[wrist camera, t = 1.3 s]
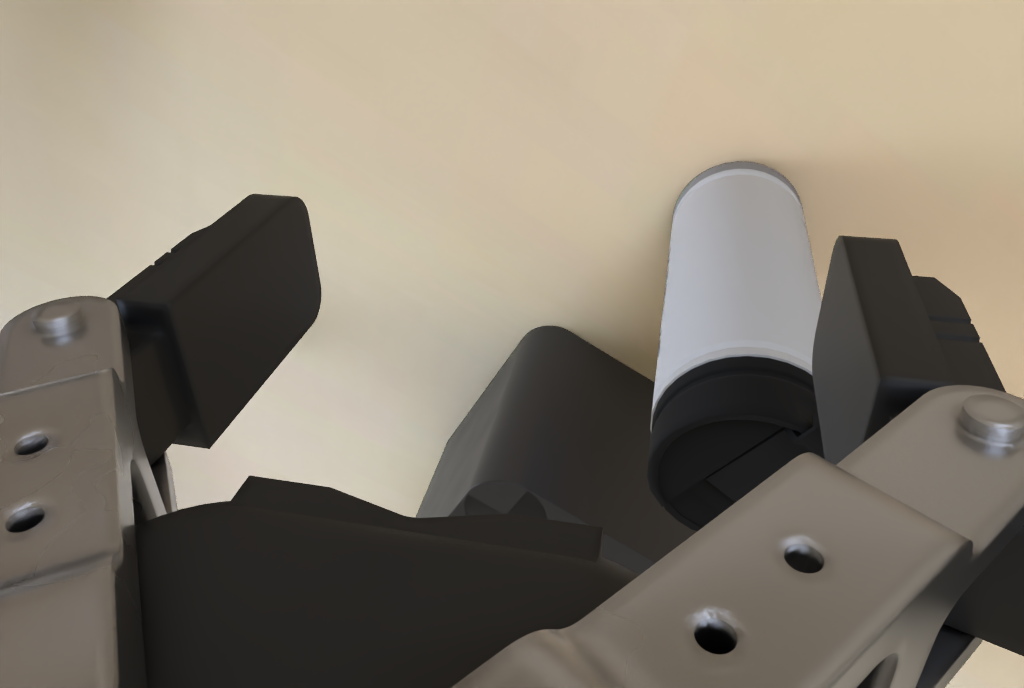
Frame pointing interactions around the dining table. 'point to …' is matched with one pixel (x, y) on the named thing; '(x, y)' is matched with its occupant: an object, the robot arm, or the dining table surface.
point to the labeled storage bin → (560, 449)
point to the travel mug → (733, 343)
